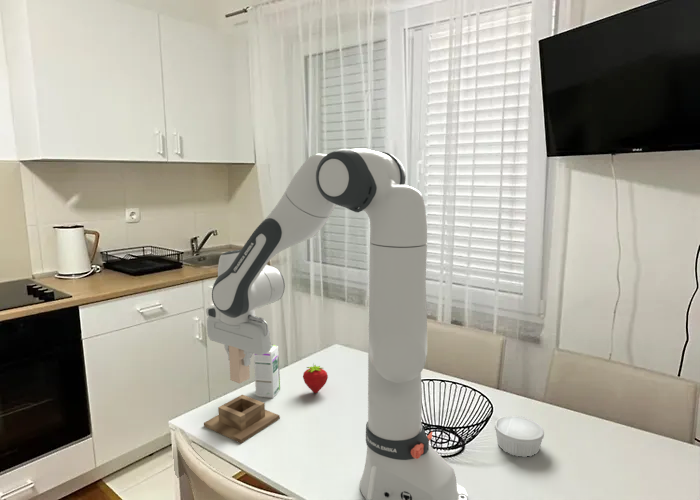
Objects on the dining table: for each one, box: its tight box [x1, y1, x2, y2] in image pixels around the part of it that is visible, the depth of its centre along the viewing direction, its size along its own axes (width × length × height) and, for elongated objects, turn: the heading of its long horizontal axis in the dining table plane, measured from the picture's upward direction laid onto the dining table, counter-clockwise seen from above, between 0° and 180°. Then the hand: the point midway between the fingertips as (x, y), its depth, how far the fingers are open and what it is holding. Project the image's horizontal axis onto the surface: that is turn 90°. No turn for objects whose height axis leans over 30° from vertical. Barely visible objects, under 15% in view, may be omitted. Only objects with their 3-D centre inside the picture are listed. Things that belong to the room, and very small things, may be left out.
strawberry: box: [302, 363, 329, 394], centre depth 141 cm, size 6×8×10 cm
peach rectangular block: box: [229, 346, 250, 384], centre depth 123 cm, size 4×4×12 cm
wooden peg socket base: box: [203, 394, 281, 444], centre depth 126 cm, size 14×14×5 cm
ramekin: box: [494, 415, 545, 458], centre depth 115 cm, size 11×11×5 cm
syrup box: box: [253, 344, 281, 399], centre depth 141 cm, size 6×6×14 cm
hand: (239, 362), depth 123 cm, fingers closed on peach rectangular block, 3 cm apart
